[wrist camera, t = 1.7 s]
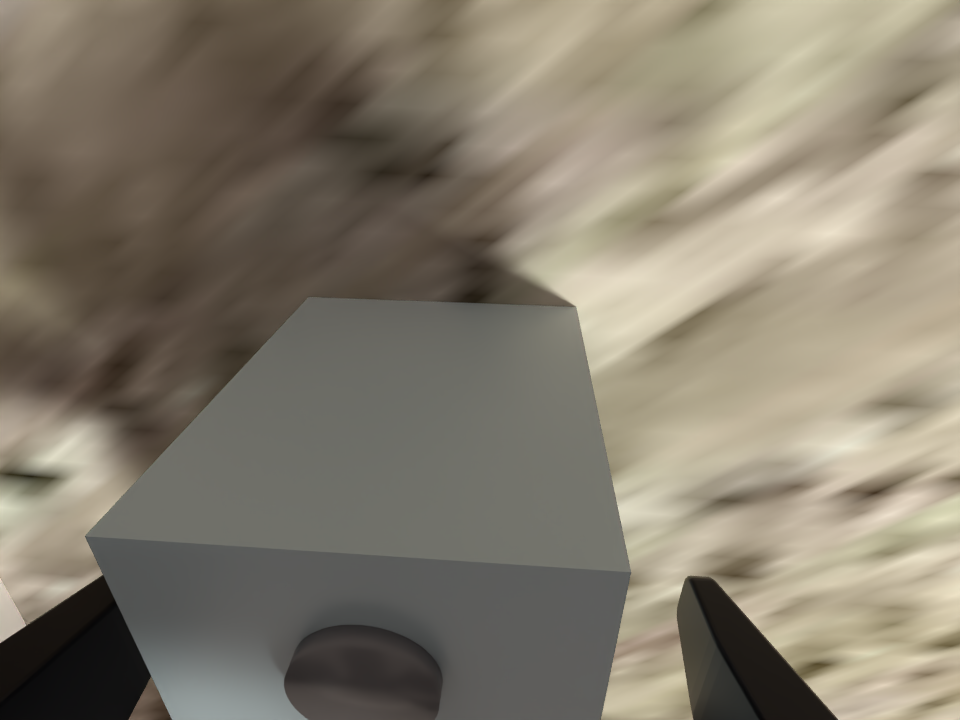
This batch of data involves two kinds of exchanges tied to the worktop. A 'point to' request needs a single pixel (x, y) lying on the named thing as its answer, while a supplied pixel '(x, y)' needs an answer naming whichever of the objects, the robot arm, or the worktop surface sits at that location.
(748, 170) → the worktop surface
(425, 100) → the worktop surface
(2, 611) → the bracket
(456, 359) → the housing
